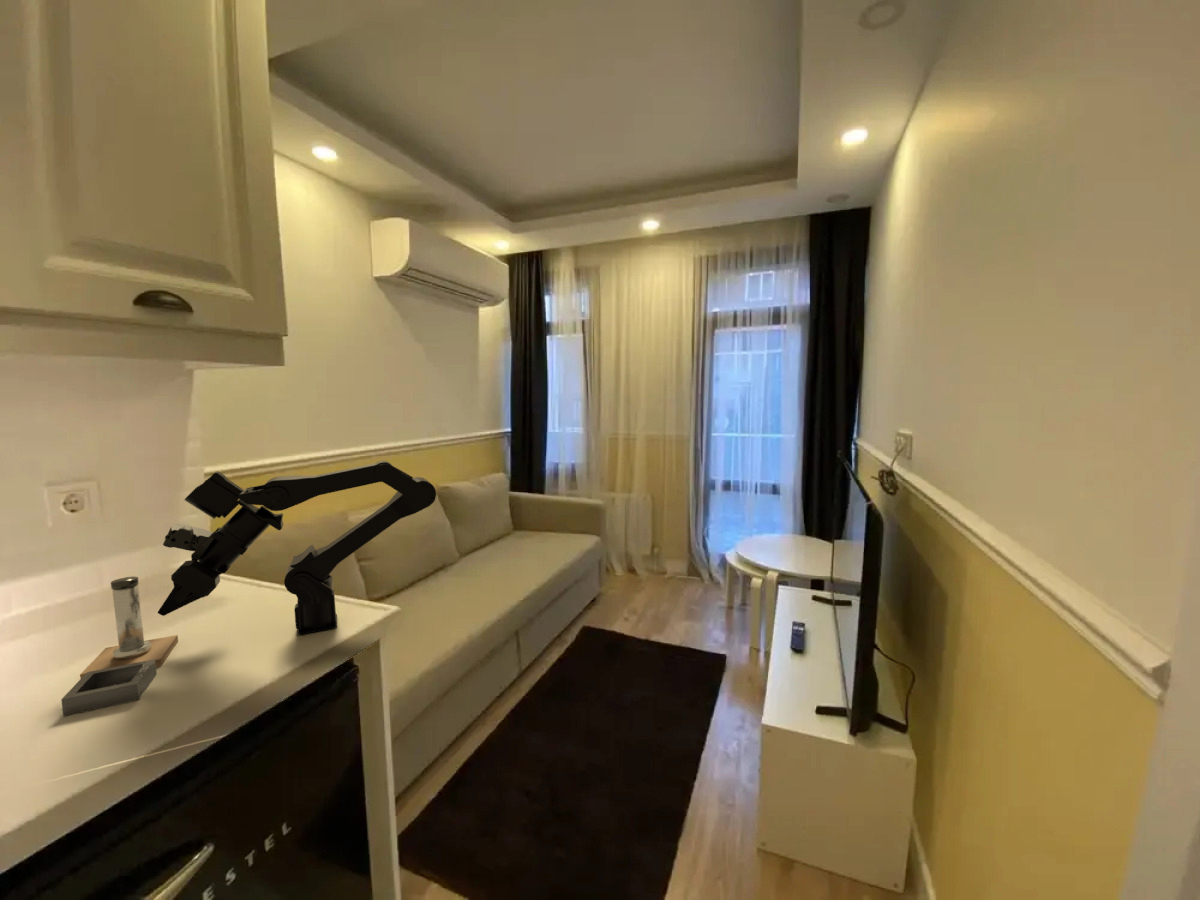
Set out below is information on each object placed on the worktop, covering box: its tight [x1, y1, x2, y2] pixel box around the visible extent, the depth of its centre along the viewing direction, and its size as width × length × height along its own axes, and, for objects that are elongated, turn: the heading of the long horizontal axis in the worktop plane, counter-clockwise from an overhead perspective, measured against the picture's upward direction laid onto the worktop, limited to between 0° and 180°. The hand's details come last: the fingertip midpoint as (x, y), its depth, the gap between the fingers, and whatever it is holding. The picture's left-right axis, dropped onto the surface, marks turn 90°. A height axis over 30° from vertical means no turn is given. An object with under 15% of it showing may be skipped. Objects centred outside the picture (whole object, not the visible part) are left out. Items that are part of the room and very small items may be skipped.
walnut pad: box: [79, 634, 179, 679], centre depth 87 cm, size 10×10×1 cm
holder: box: [60, 659, 157, 717], centre depth 77 cm, size 8×8×2 cm
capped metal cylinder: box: [110, 576, 151, 660], centre depth 87 cm, size 5×5×13 cm
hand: (168, 604), depth 89 cm, fingers open, 9 cm apart
